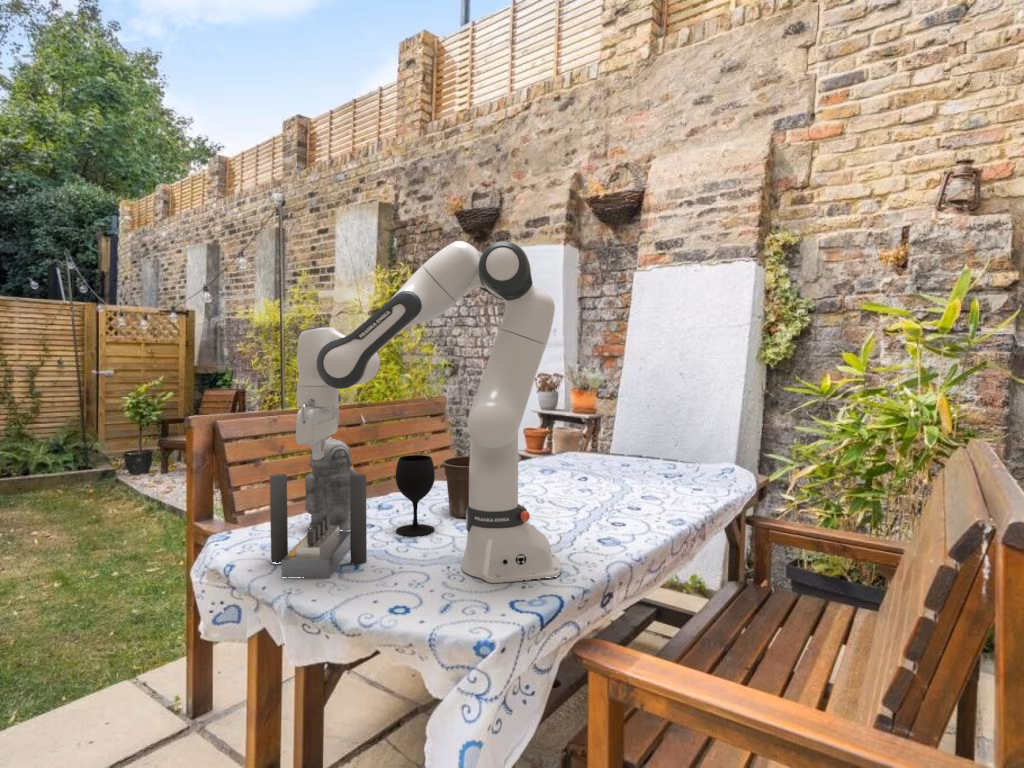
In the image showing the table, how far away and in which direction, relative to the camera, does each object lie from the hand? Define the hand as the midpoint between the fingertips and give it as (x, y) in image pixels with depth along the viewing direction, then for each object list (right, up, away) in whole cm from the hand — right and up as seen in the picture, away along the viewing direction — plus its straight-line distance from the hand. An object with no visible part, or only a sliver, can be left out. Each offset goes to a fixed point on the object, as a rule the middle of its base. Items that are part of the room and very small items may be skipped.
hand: (318, 458), depth 133 cm
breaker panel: (0, -24, +1) cm, 24 cm away
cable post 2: (+9, -24, +2) cm, 26 cm away
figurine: (-5, -23, +27) cm, 36 cm away
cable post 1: (-9, -24, +1) cm, 26 cm away
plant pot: (+31, -22, +42) cm, 57 cm away
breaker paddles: (0, -18, +1) cm, 18 cm away
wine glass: (+18, -23, +25) cm, 38 cm away
